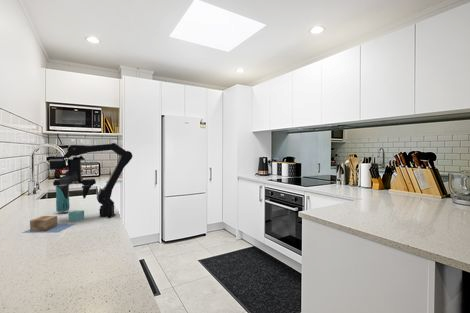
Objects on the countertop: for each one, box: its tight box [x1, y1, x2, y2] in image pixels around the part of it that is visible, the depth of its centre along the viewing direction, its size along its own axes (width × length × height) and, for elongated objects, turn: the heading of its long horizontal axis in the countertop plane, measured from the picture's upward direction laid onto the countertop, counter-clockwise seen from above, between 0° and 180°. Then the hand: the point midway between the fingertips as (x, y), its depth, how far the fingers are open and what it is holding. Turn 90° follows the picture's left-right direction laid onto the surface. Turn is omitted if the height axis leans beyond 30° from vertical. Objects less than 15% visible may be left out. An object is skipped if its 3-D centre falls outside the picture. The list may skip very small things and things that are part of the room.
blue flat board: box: [21, 223, 76, 234], centre depth 110 cm, size 16×12×1 cm
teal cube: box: [67, 209, 85, 222], centre depth 123 cm, size 5×5×5 cm
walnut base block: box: [29, 215, 58, 231], centre depth 109 cm, size 7×7×5 cm
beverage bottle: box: [55, 186, 70, 213], centre depth 139 cm, size 6×7×20 cm
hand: (75, 198), depth 123 cm, fingers open, 9 cm apart
